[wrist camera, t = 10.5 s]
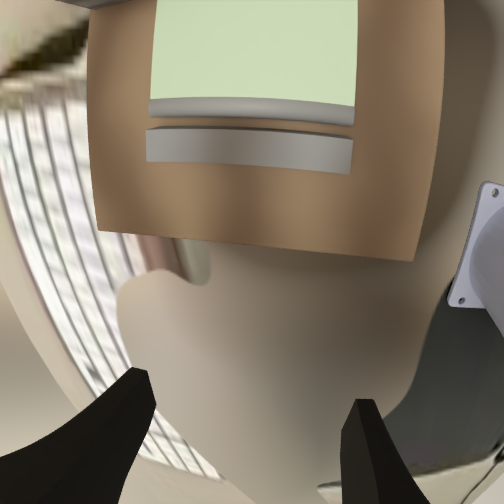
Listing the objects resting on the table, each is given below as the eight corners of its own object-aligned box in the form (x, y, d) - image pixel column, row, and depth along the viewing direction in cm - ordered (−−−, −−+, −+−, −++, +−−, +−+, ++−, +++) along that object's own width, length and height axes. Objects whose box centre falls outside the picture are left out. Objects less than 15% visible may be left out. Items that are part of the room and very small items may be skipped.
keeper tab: (354, -3, 11) (358, -11, 10) (349, 126, 13) (353, 126, 12) (164, -3, 12) (156, -9, 11) (156, 117, 14) (147, 117, 13)
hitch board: (423, -97, 7) (452, -139, 2) (407, 253, 17) (438, 310, 12) (118, -95, 9) (72, -125, 4) (106, 224, 19) (54, 265, 14)
